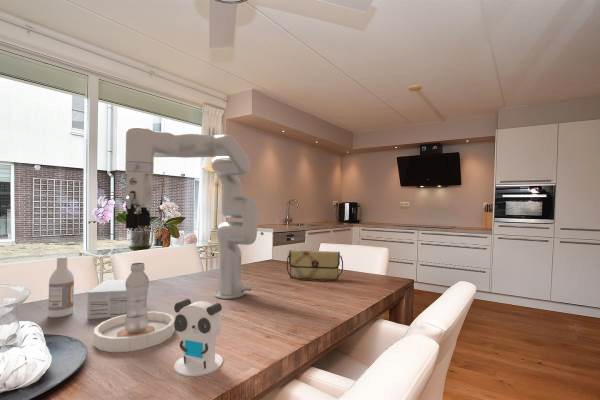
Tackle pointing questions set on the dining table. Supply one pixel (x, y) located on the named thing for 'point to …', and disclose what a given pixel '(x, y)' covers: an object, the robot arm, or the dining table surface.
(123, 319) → the round tray
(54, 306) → the bath foam
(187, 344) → the panda figurine
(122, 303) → the supplement box
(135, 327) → the plastic bottle
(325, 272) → the clutch purse
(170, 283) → the dining table surface
